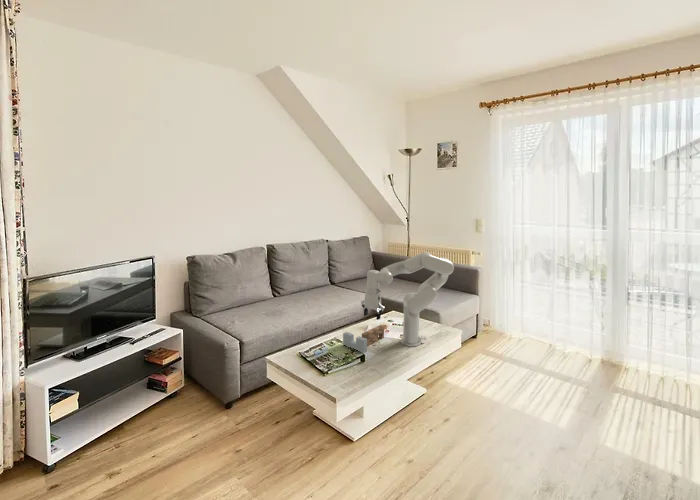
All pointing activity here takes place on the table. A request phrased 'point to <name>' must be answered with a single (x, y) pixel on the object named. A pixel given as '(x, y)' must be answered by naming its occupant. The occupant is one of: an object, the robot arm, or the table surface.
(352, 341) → the grey u-shaped block
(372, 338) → the brown wooden board
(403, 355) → the table surface
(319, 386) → the table surface
